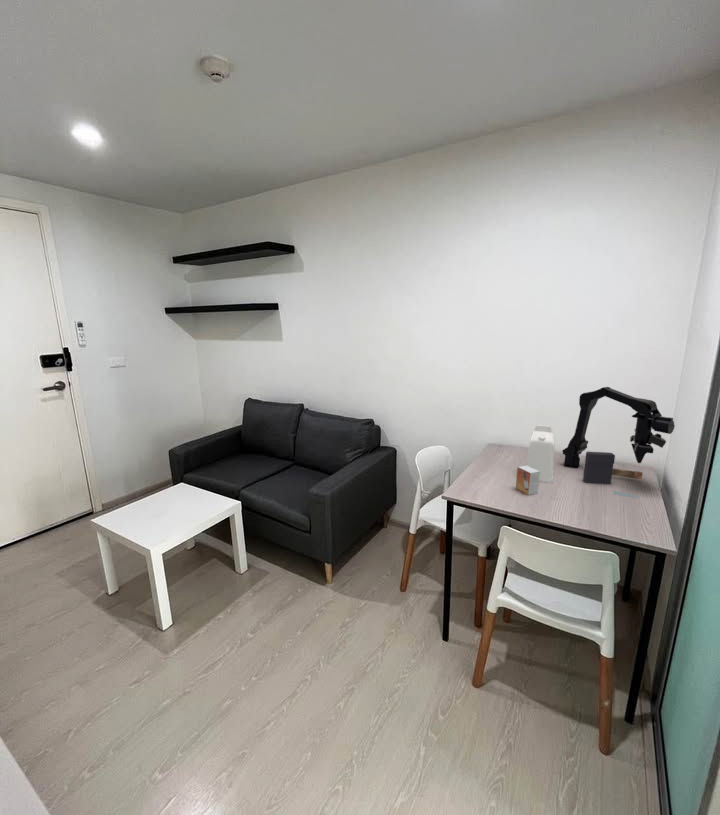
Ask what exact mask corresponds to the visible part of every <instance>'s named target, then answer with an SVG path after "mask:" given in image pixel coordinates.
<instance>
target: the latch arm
mask: <svg viewBox="0 0 720 815" xmlns="http://www.w3.org/2000/svg"><path fill="white" fill-rule="evenodd" d="M643 474H644V473H643V472H642V471H636V470H628V469H627V470H626V469H620V468H613V470H612V476H617V477H621V478H631V479H636V480H642V479H643Z"/></svg>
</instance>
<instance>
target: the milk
mask: <svg viewBox="0 0 720 815" xmlns="http://www.w3.org/2000/svg"><path fill="white" fill-rule="evenodd" d="M555 440H556V439H555V434H554V431H553V429H552V426H551V425H544V424H543V425H542V424H537V425H536V426H535V428H534V429H533V432H532V434H531V437H530V441H529V446H528V450H527V451H528V452H527V459H526V460H527V461H526V466H529V467H531V468H533V469H535V470H538V471H540V477H539V482H544V483H550V484H551V483H552V484H553V476H554V463H555V444H556V443H555V442H556V441H555Z"/></svg>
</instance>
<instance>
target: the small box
mask: <svg viewBox="0 0 720 815" xmlns="http://www.w3.org/2000/svg"><path fill="white" fill-rule="evenodd" d="M516 472H517V473H516V480H515V482H516V483H515V489H516V490H518V491H519V492H521V493H523V494H526V495H527V496H530V495H535V494H536V495H537V494H538V493H539V486H540V481H539V477H540V471H538V470H535V469H533V468H531V467H529V466H527V465H522V466H518V467H517V471H516Z"/></svg>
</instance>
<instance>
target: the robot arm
mask: <svg viewBox="0 0 720 815" xmlns="http://www.w3.org/2000/svg"><path fill="white" fill-rule="evenodd" d="M605 397H606V398H608V399H611V400H613V401H616V402H618V403H621V404H623V405H627V406H629V407H630V408H631V409H632V410H633V411H635V413H634V414H632V415H631V417H632V418H635V419H636V422H635V428H634V434H632V435H630V438H629V442H630V443H631V447H632V451H633V453H634V456H635V460H636V462H637V463H638V464H642V462H643V460H644V458H645V455H646V454H654V450H655V449H654V447H653V446H652V444H653V445H655V446H658V447H660V448H664V447H665V445H666V443H667V441H666V439H665V438H664V437H662V435H661V434H660V433H664V434H667V435H671V434H672V433H673V432H674V429H675V421H674V418H673V417H667V416H663V415H662V414H661V412H660V411H659V409H658V405H657V403H656V402H655V401H654V400H651V399H647V398H640V397H639V398H638V397H636V396H635V397H634V396H632V395H629V394H626V393H624V392H622V391H619V390H616V389H614V388H611V387H609V386H605V387H604V386H603V387H601V388H599V389H597V390H593V391H588V392H583V393H581V394H580V396H579V398H578V399H579V403H578V404H579V410H580V411H579V415H578V418H577V423H576V426H575V431H574V435H573V436H572V437H571V439H570V441H569V443H568V444H567V447H565V448H564V449H562V454H563V455H564V462H563V466H564V467H566V468H574V469H578V468H579V466H580V462H581V461H580V460H581V457H580V455H581V454H582V453H583V452H584V451H585V450H586V449H588V444H589V440H587V439H586V433H587V429H588V426H589V422H590V417H591V414H592V411H593V409H594V408H595V407H596V405H597V403H598V400H600V399H603V398H605ZM652 430H653V431H654V432H659V433H655V434H653V433H652Z"/></svg>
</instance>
